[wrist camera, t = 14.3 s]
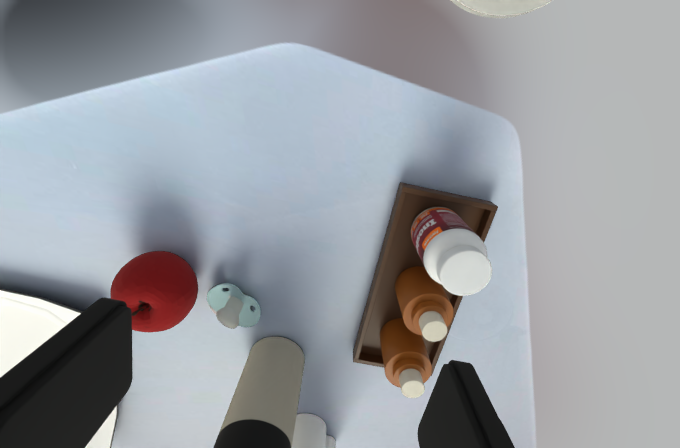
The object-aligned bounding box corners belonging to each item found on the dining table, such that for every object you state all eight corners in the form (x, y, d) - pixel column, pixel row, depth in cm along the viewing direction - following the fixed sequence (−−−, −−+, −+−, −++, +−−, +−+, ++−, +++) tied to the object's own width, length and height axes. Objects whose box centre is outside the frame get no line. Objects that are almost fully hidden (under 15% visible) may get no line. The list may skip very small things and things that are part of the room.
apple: (127, 247, 42) (65, 288, 32) (195, 235, 41) (151, 274, 32) (154, 308, 45) (104, 362, 36) (218, 298, 44) (183, 350, 35)
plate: (-54, 420, 53) (-74, 436, 50) (-100, 263, 43) (-127, 273, 40) (127, 446, 54) (117, 463, 52) (122, 300, 45) (109, 312, 42)
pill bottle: (416, 201, 39) (442, 236, 28) (467, 209, 39) (511, 247, 29) (404, 248, 41) (424, 297, 30) (452, 256, 41) (488, 307, 31)
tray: (399, 182, 39) (402, 186, 37) (490, 201, 39) (498, 206, 37) (352, 351, 47) (353, 362, 45) (428, 364, 48) (431, 376, 46)
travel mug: (308, 339, 46) (287, 473, 29) (301, 382, 49) (278, 527, 32) (252, 331, 46) (198, 462, 29) (248, 374, 49) (197, 518, 32)
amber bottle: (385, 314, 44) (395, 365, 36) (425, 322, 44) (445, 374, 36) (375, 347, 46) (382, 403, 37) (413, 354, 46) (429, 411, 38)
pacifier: (244, 329, 46) (269, 303, 44) (229, 363, 40) (257, 334, 39) (200, 300, 45) (224, 271, 43) (177, 331, 39) (204, 299, 37)
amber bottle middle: (401, 262, 41) (416, 303, 33) (443, 270, 42) (469, 314, 33) (389, 299, 43) (401, 348, 35) (430, 307, 44) (452, 357, 35)
